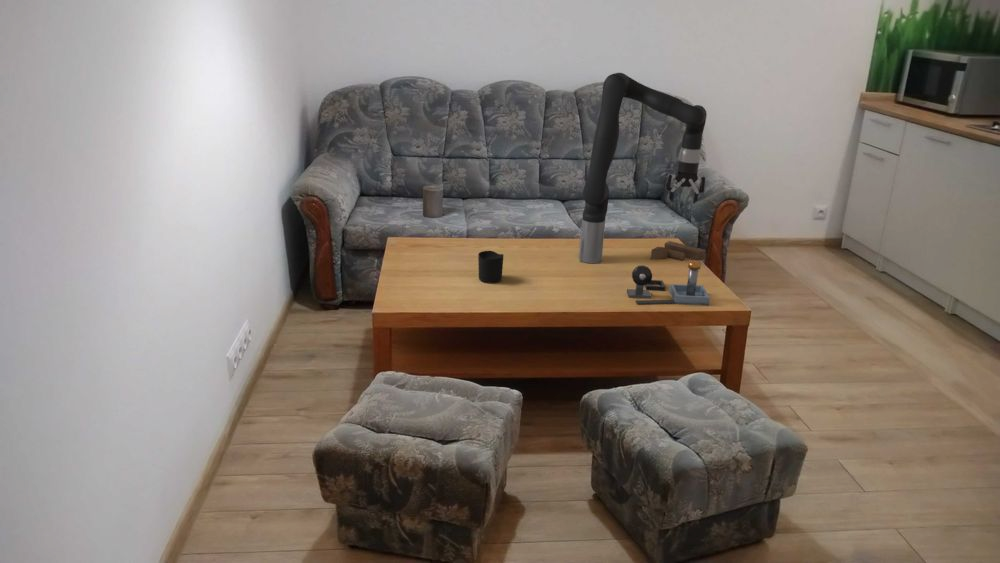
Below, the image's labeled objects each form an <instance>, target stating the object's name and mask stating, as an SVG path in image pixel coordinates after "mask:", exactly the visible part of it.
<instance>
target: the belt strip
mask: <svg viewBox="0 0 1000 563" xmlns="http://www.w3.org/2000/svg"><path fill="white" fill-rule="evenodd" d="M635 304H637V305H639V306H640V305H643V306H644V305H676V304H675V301H674V300H673V299H648V300H647V299H645V300H642V299H641V300H639V299H638V300H637V299H635Z"/></svg>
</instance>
